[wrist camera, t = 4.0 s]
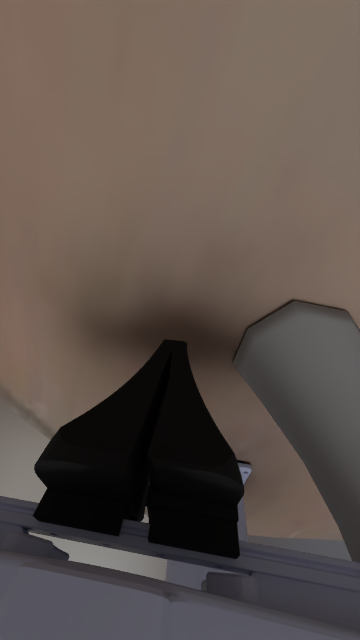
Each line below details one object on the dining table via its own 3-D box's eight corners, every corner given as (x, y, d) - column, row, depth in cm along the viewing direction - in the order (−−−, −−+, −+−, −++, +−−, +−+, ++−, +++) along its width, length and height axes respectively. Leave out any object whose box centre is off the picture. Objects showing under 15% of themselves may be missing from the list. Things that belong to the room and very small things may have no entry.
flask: (292, 276, 10) (736, 693, 2) (392, 338, 11) (957, 770, 3) (213, 362, 14) (223, 623, 5) (294, 402, 15) (407, 667, 6)
